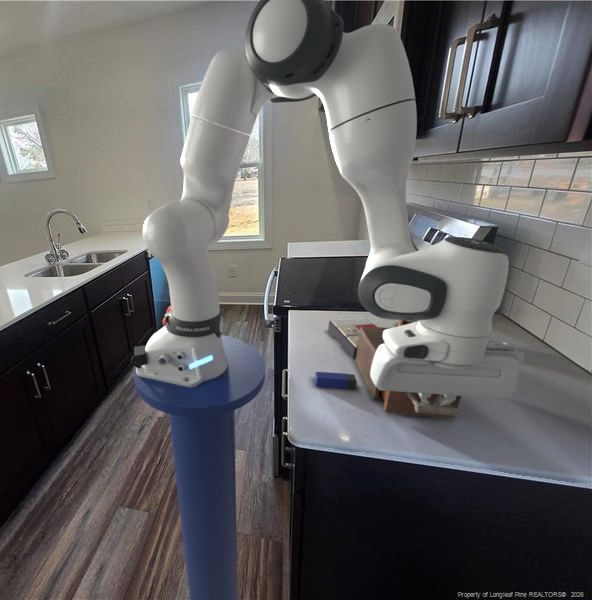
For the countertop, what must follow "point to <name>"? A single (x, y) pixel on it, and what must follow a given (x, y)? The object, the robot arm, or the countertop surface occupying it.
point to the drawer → (417, 405)
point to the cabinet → (369, 355)
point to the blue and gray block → (335, 380)
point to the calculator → (348, 332)
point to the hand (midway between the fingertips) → (430, 410)
